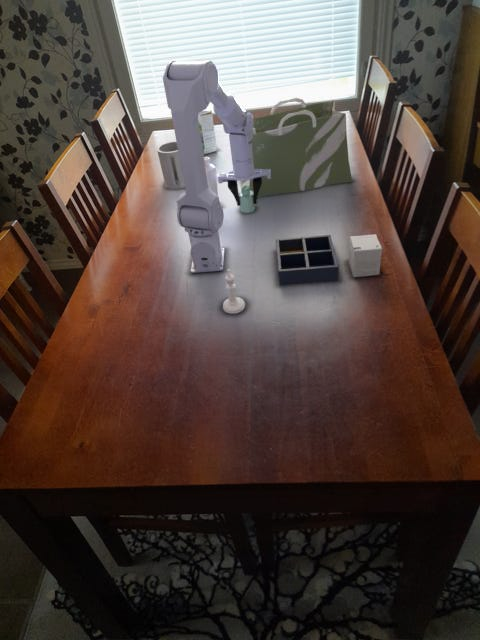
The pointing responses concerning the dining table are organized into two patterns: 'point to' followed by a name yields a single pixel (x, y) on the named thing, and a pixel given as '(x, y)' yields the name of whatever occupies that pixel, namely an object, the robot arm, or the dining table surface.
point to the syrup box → (207, 131)
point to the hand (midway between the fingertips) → (247, 203)
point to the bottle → (246, 199)
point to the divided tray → (306, 260)
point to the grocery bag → (301, 148)
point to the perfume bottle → (211, 175)
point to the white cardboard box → (365, 255)
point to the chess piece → (232, 297)
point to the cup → (170, 165)
